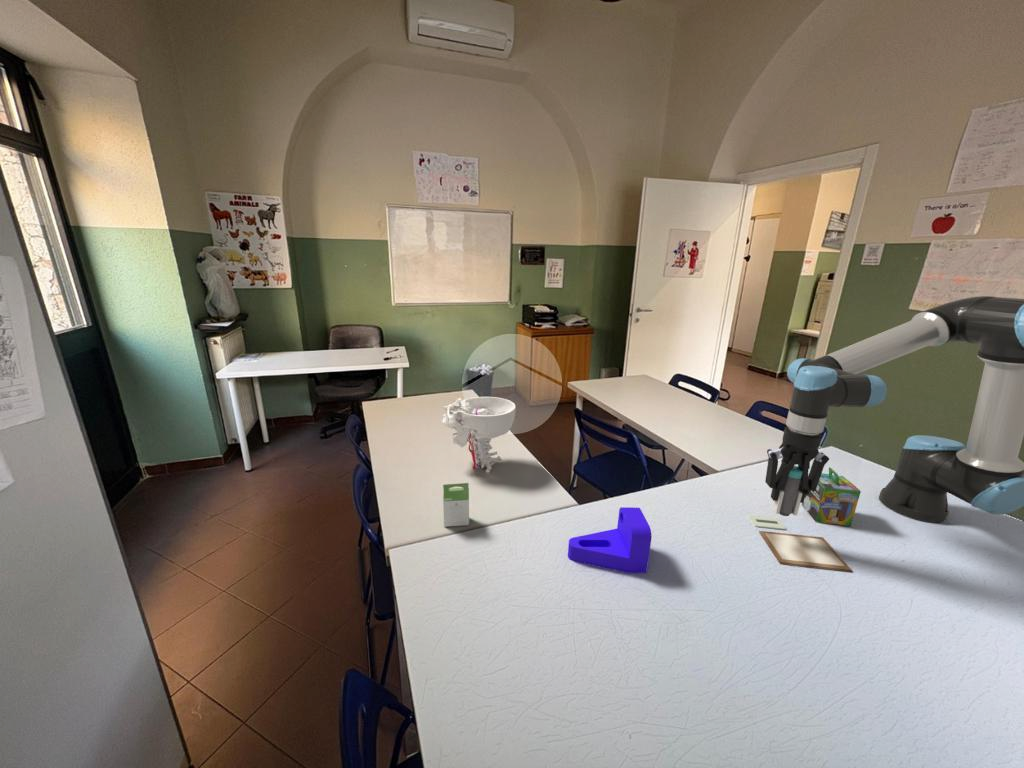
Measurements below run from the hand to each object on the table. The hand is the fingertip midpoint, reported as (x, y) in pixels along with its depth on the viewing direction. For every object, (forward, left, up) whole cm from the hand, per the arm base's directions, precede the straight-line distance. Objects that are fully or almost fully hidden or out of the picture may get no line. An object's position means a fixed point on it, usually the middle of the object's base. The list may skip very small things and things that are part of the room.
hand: (783, 511), depth 105 cm
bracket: (+46, +14, -9) cm, 50 cm away
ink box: (+86, +8, -9) cm, 87 cm away
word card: (-1, -7, -9) cm, 12 cm away
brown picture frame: (-5, +4, -9) cm, 11 cm away
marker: (0, 0, -1) cm, 1 cm away
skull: (+87, -24, -9) cm, 91 cm away
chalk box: (-20, -14, -9) cm, 26 cm away
